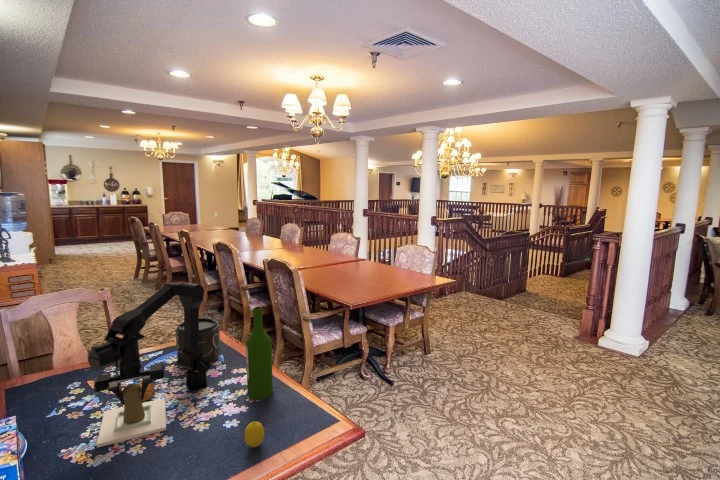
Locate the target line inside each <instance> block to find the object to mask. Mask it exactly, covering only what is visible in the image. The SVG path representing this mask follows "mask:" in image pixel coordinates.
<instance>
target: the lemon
mask: <svg viewBox="0 0 720 480" xmlns="http://www.w3.org/2000/svg"><path fill="white" fill-rule="evenodd" d="M264 439H265V429H264V426H263V425H262V423H261V422H259V421H252V422H250V423H248V425H247V426H246V427H245V430H244V440H245V443H246V444H247V446H248V447H250V448H256V447H259V446H260V445H261V444H262V443H263V441H264Z"/></svg>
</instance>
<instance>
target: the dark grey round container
mask: <svg viewBox="0 0 720 480" xmlns="http://www.w3.org/2000/svg"><path fill="white" fill-rule="evenodd" d="M220 327H221V326H220V325H219V323H218V322H217V320H216V319H214V318H210V317H199V346H200V348H201V350H202V352H203V356H204V361H206V362H208V363H209V364H211V363H213V362H214V361H216V360H217V358H218V357H219V355H220V353H221V352H222V350H221V336H220V335H221V334H220ZM174 332H175V344H176V351H177V354H176V358H178V352H179V351H182V349H183V347H184V320H183V321H182V322H181V323H179V324H178V325H177V326H176V329H174ZM210 362H211V363H210Z"/></svg>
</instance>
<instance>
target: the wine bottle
mask: <svg viewBox="0 0 720 480" xmlns="http://www.w3.org/2000/svg"><path fill="white" fill-rule="evenodd" d="M252 311H253V329H252V331H251V333H250V334H249V336H248V337H247V338H246V341H245V342H246V343H245V358H246V359H245V362H246V386H247V388H246V389H247V396H248V398H249V399H251V400H255V401H260V400H261V399H262V400H265V399H268V398H269V397H270V396H272V394H273V392H274V391H273V389H274V388H273V387H274V386H273V355H272V354H273V353H272V350H273V349H272V348H273V347H272V339H271V337H270V336H269V334H268V333H267V332H266V330H265V329H264V326H263V325H264V324H263V308H262V307H261V306H256V307H253V310H252ZM267 397H268V398H267Z"/></svg>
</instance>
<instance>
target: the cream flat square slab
mask: <svg viewBox="0 0 720 480" xmlns="http://www.w3.org/2000/svg"><path fill="white" fill-rule="evenodd" d="M142 405H143V409H144V413H145V417H144V418H143V419H142V420H140V421H138V422H136V423H131V424H127V423H124V422H123V418H124V407H123V406H122V407H118V408H113V409H110V410H105V411H104V412H103V416H102V420H101V423H100V429H99V433H98V437H97V440H96V448H100V447H104V446H108V445H113V444H117V443H121V442H124V441H129V440H132V439H136V438H140V437H143V436H147V435H148V436H149V435H151V434H155V433H159V432H164V431H167V412H166V410H167V409H166V397H165V398H164V397H163V398H159V399H155V400H150V401H143V402H142Z"/></svg>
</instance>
